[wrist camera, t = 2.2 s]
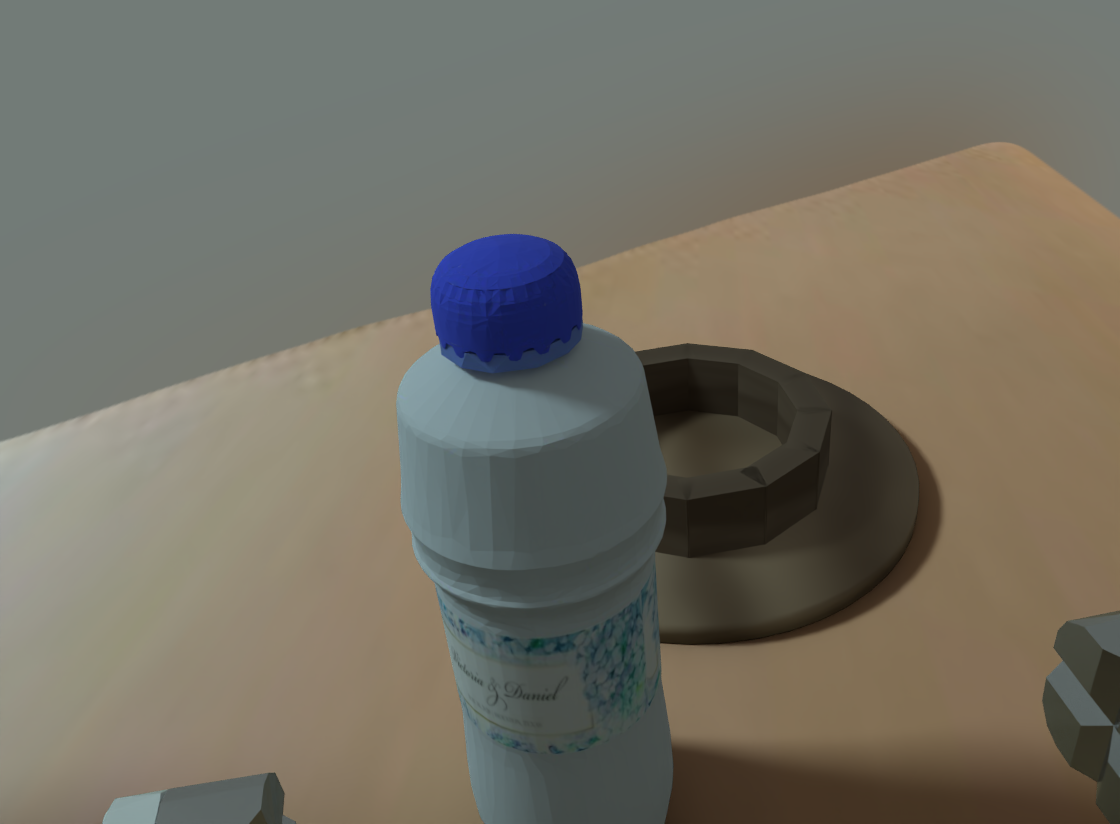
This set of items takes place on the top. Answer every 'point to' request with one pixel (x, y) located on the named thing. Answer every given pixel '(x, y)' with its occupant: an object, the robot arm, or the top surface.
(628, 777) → the bottle
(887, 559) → the coaster
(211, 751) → the top surface
